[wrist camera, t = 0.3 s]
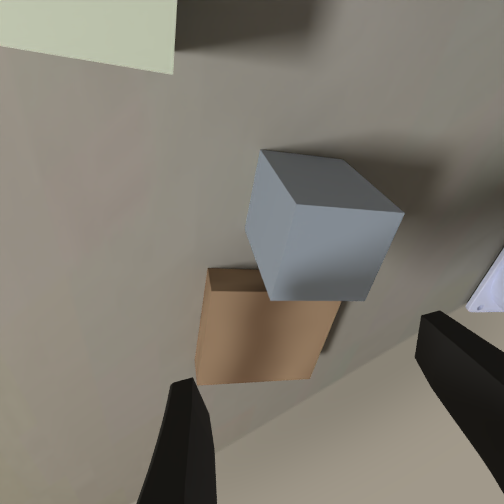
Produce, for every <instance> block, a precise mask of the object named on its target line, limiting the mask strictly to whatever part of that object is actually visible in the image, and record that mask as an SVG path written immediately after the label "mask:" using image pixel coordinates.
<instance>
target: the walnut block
mask: <svg viewBox="0 0 504 504" xmlns="http://www.w3.org/2000/svg"><path fill="white" fill-rule="evenodd" d="M341 302H342V301H270V298H269V295H268V293H267V290H266V287H265V284H264V281H263V279H262V276H261V273H260V270H255V269H219V268H208V270H207V277H206V284H205V291H204V298H203V306H202V313H201V320H200V327H199V334H198V341H197V349H196V356H195V367H196V379H197V385H214V384H230V383H247V382H264V381H281V380H298V379H310V377H311V374H312V372H313V370H314V367H315V365H316V362H317V360H318V357H319V355H320V353H321V350H322V348H323V345H324V343H325V340H326V338H327V336H328V333H329V331H330V328H331V326H332V323H333V321H334V319H335V316H336V314H337V311H338V309H339V306H340V304H341Z"/></svg>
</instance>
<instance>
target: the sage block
mask: <svg viewBox="0 0 504 504" xmlns="http://www.w3.org/2000/svg"><path fill="white" fill-rule="evenodd" d="M176 11H177V0H0V46H4V47H10V48H16V49H22V50H28V51H34V52H40V53H46V54H52V55H58V56H64V57H70V58H76V59H82V60H88V61H94V62H100V63H106V64H112V65H118V66H124V67H130V68H136V69H142V70H148V71H154V72H160V73H166V74H172V75H173V64H174V46H175V29H176Z"/></svg>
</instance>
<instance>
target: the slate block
mask: <svg viewBox="0 0 504 504" xmlns="http://www.w3.org/2000/svg"><path fill="white" fill-rule="evenodd" d="M404 214H405V213H404V212H403V211H402V210H401V209H400V208H398V207H397V206H396V205H395V204H394V203H393V202H391V201H390V200H389V199H388V198H387V197H386V196H385V195H383V194H382V193H381V192H380V191H379V190H378V189H376V188H375V187H374V186H373V185H372V184H371V183H370V182H368V181H367V180H366V179H365V178H364V177H363V176H361V175H360V174H359V173H358V172H357V171H356V170H354V169H353V168H352V167H351V166H350V165H349V164H348V163H346V162H345V161H344V160H343V159H335V158H326V157H318V156H310V155H301V154H293V153H285V152H277V151H268V150H260V154H259V159H258V164H257V169H256V174H255V179H254V184H253V190H252V195H251V200H250V205H249V210H248V215H247V220H246V225H245V231H246V234H247V237H248V239H249V242H250V245H251V248H252V251H253V253H254V256H255V259H256V262H257V265H258V267H259V270H260V273H261V276H262V279H263V281H264V284H265V287H266V290H267V293H268V295H269V298H270V301H365V299H366V297H367V295H368V293H369V291H370V288H371V286H372V284H373V282H374V280H375V277H376V275H377V273H378V271H379V269H380V267H381V264H382V262H383V260H384V258H385V256H386V253H387V251H388V249H389V247H390V245H391V242H392V240H393V238H394V236H395V234H396V231H397V229H398V227H399V225H400V223H401V220H402V218H403V216H404Z"/></svg>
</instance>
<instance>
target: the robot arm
mask: <svg viewBox="0 0 504 504" xmlns="http://www.w3.org/2000/svg"><path fill="white" fill-rule="evenodd" d="M466 308H467V310H469V312H504V248H503V250H502V251H501V253H500V254H499V256H498V257H497V259H496V260H495V262H494V263H493V265H492V266H491V268H490V269H489V271H488V273H487V274H486V276H485V277H484V279H483V280H482V282H481V283H480V285H479V286H478V288H477V289H476V291H475V292H474V294H473V295H472V297H471V298H470V300H469V301H468V303H467V305H466ZM415 359H416V360H417V362H418V364H419V366H420V368H421V370H422V372H423V373H424V375H425V377H426V379H427V381H428V382H429V384H430V386H431V388H432V389H433V391H434V392H435V393H436V395H437V396H438V398H439V399H440V401H441V402H442V403H443V405H444V406H445V408H446V409H447V410H448V412H449V413H450V415H451V416H452V417H453V419H454V420H455V422H456V423H457V424H458V426H459V427H460V429H461V430H462V431H463V433H464V434H465V436H466V437H467V438H468V440H469V441H470V443H471V444H472V445H473V447H474V448H475V449H476V451H477V452H478V454H479V455H480V457H481V458H482V460H483V461H484V463H485V464H486V466H487V467H488V469H489V470H490V472H491V473H492V475H493V477H494V478H495V480H496V482H497V483H498V485H499V487H500V488H501V490H502V492H503V493H504V352H502V351H501V350H499V349H498V348H496V347H495V346H493V345H492V344H490V343H489V342H487V341H486V340H484V339H482V338H481V337H479V336H478V335H476V334H475V333H473V332H472V331H470V330H469V329H467V328H466V327H464V326H463V325H461V324H460V323H458V322H457V321H455V320H454V319H452V318H451V317H449V316H448V315H446V314H445V313H443V312H441V311H436V312H432V313H429V314H425V315H421V321H420V327H419V333H418V340H417V346H416V352H415ZM137 504H217V494H216V474H215V453H214V444H213V436H212V430H211V423H210V416H209V413H208V410H207V408H206V406H205V404H204V401H203V399H202V397H201V395H200V392H199V390H198V388H197V386H196V383H195V381H194V379H193V378H189V379H185V380H181V381H178V382H174V383H172V384H171V386H170V390H169V395H168V400H167V404H166V409H165V413H164V417H163V421H162V425H161V428H160V432H159V436H158V439H157V443H156V446H155V449H154V453H153V456H152V459H151V463H150V466H149V469H148V472H147V475H146V478H145V481H144V484H143V486H142V489H141V492H140V495H139V498H138V501H137Z"/></svg>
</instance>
